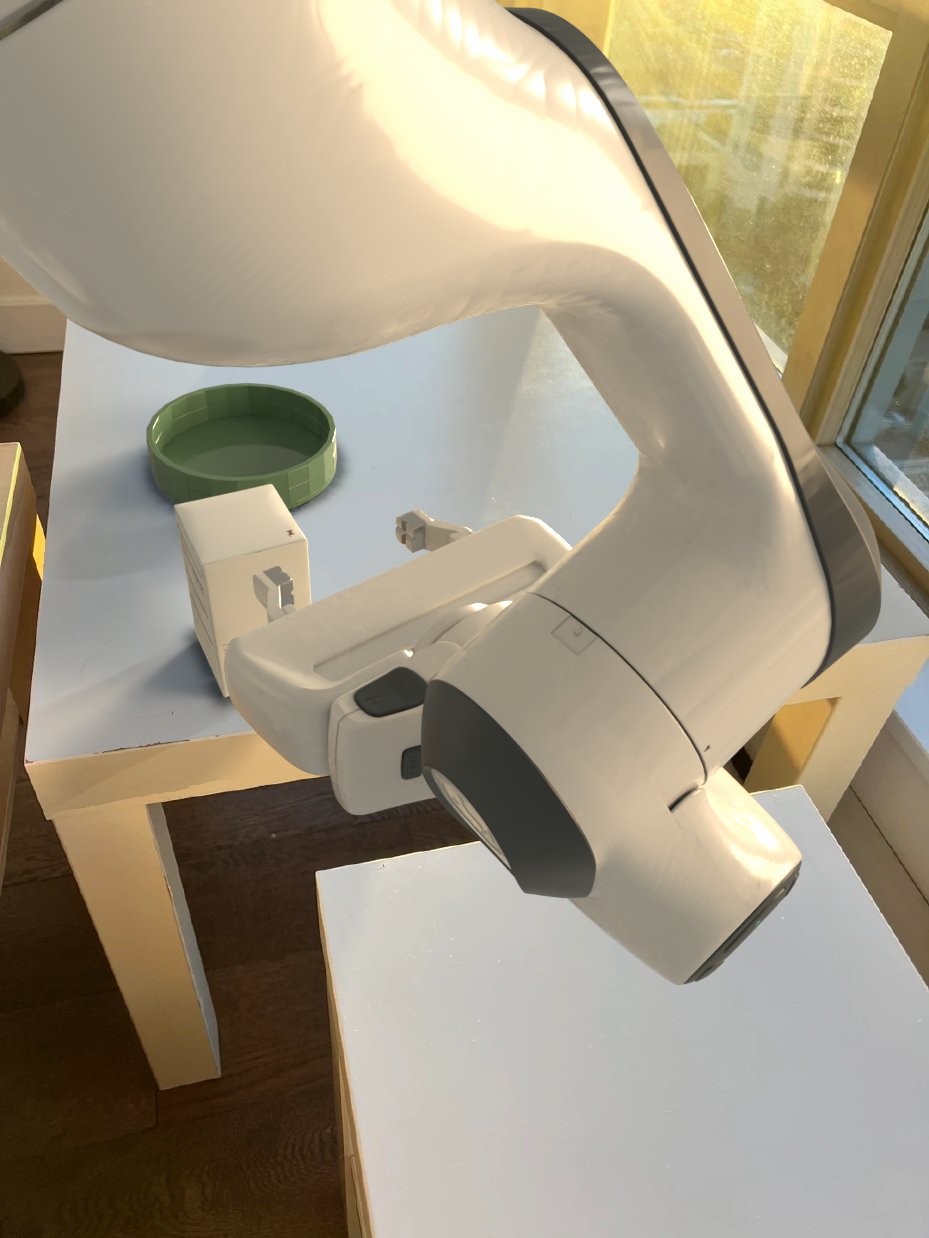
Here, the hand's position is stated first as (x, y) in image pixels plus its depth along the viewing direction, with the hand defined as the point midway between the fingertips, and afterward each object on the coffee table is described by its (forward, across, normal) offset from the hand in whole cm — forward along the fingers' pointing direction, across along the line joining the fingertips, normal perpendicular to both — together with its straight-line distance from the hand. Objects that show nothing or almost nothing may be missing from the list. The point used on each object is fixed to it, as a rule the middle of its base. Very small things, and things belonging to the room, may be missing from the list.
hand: (337, 549), depth 55 cm
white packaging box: (+12, 0, +18) cm, 22 cm away
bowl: (+35, -12, +18) cm, 42 cm away
